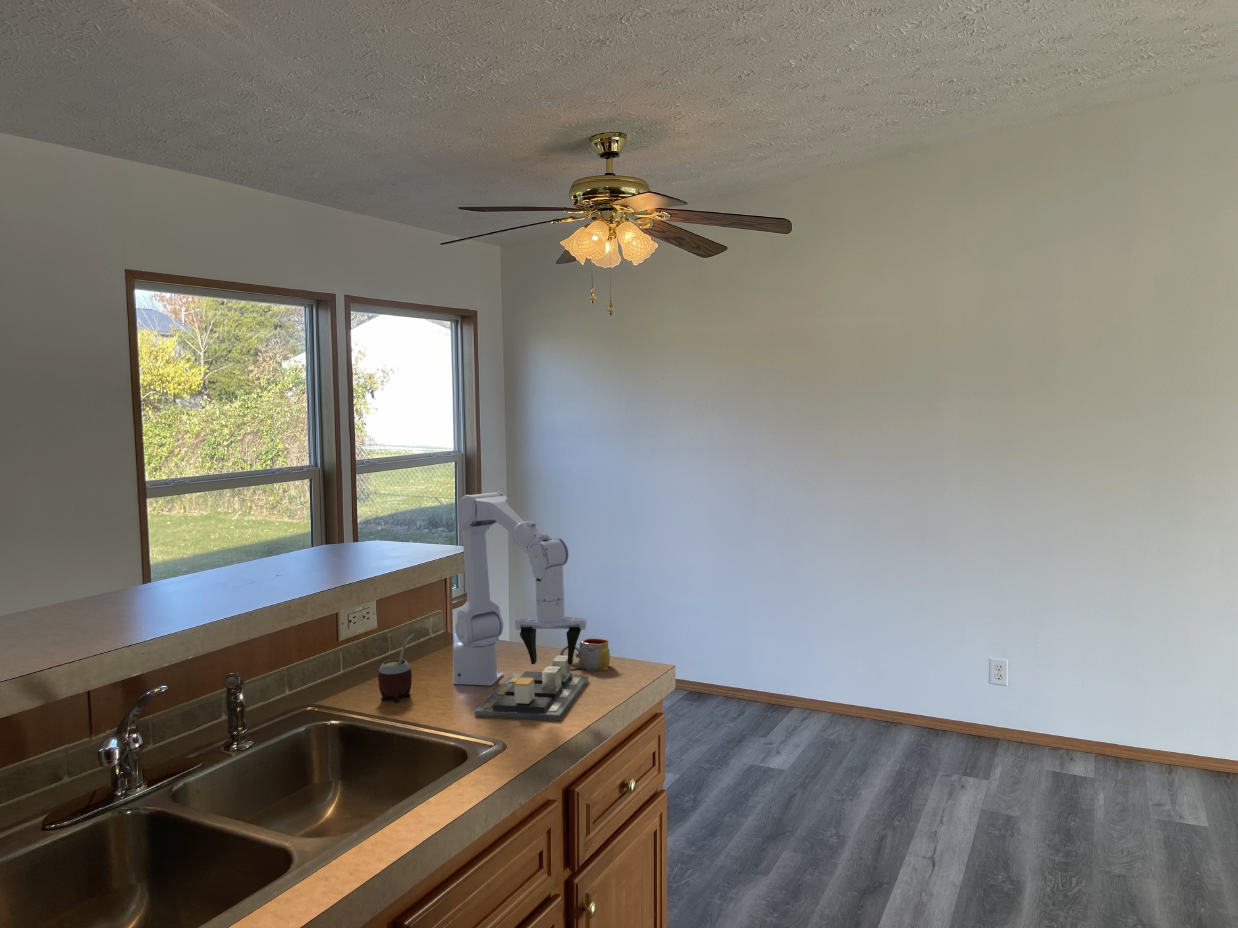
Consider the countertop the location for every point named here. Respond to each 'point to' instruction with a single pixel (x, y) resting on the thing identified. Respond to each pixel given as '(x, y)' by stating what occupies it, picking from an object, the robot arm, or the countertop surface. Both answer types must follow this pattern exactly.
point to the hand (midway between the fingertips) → (552, 662)
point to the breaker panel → (536, 694)
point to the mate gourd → (395, 678)
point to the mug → (591, 655)
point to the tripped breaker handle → (524, 690)
